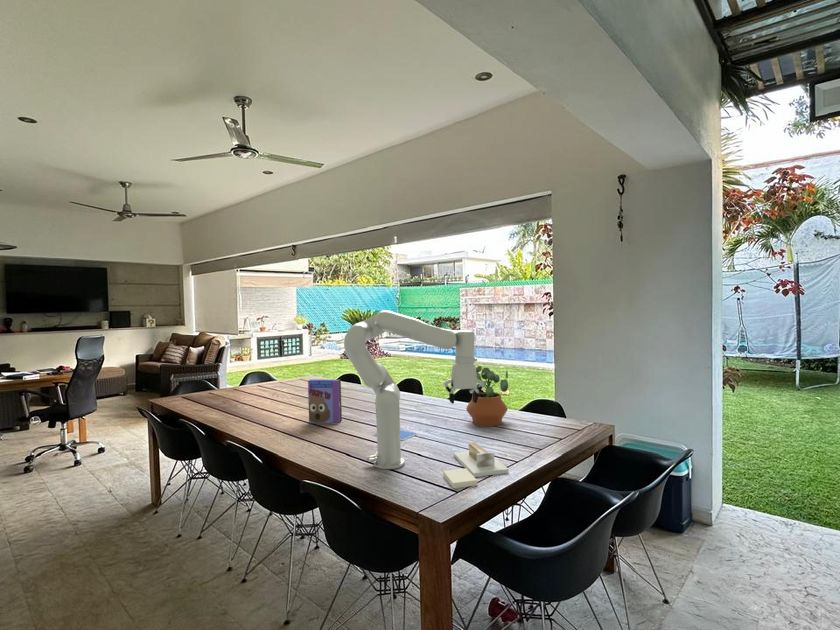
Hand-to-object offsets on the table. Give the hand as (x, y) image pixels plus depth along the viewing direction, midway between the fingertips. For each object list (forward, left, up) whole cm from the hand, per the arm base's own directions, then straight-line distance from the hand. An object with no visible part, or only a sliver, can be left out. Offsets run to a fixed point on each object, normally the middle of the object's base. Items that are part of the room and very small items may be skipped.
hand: (463, 402), depth 182 cm
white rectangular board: (+5, -4, -25) cm, 25 cm away
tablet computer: (-20, +48, -25) cm, 57 cm away
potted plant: (+30, +52, -25) cm, 65 cm away
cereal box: (-53, +83, -25) cm, 102 cm away
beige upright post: (+5, -4, -23) cm, 24 cm away
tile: (-8, -11, -24) cm, 27 cm away
